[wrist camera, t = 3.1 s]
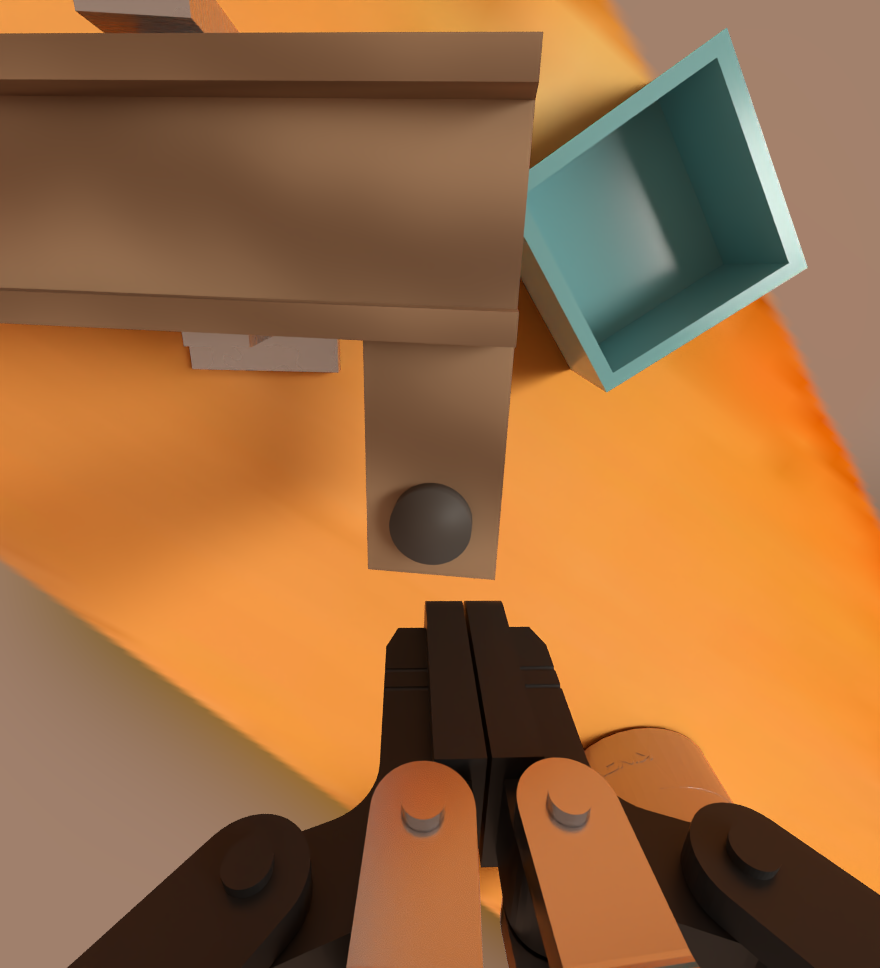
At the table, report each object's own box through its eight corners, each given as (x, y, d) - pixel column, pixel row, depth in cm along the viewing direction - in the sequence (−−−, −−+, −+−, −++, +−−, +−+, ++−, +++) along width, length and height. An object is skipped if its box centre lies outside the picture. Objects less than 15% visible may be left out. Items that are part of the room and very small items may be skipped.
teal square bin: (730, 267, 22) (807, 267, 18) (570, 369, 23) (606, 392, 19) (657, 80, 19) (727, 27, 15) (481, 206, 21) (499, 190, 16)
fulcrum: (340, 369, 23) (303, 423, 15) (197, 366, 22) (82, 420, 14) (328, 55, 19) (267, -102, 11) (153, 45, 18) (-44, -125, 10)
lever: (494, 554, 18) (494, 602, 15) (-17, 513, 19) (-96, 549, 17) (534, 80, 13) (543, 31, 10) (-159, 77, 14) (-302, 34, 12)
